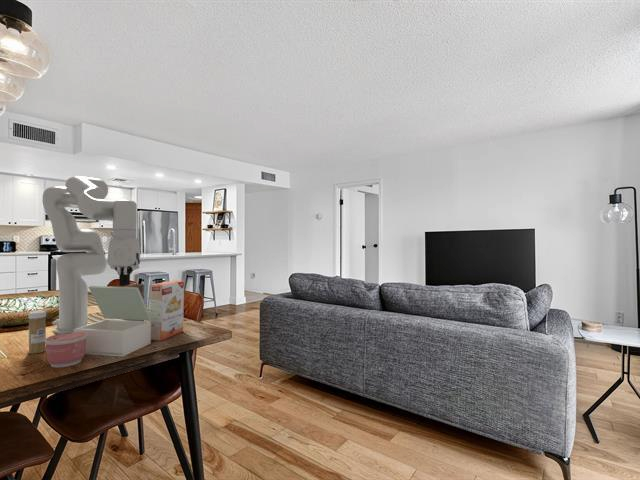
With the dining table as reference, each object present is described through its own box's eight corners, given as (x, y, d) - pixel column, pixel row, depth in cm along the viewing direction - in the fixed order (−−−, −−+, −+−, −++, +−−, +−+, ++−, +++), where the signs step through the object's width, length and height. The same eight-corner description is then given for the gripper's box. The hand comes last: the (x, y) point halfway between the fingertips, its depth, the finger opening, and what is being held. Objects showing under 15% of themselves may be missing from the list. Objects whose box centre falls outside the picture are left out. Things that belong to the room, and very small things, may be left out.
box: (73, 353, 114) (73, 329, 114) (106, 340, 128) (106, 319, 127) (122, 356, 111) (122, 331, 111) (150, 343, 125) (150, 321, 125)
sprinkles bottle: (36, 354, 112) (36, 313, 112) (24, 353, 113) (24, 312, 113) (49, 349, 117) (49, 310, 117) (38, 349, 117) (38, 309, 117)
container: (81, 354, 113) (81, 330, 113) (91, 362, 106) (91, 336, 106) (41, 363, 105) (41, 337, 105) (49, 372, 98) (49, 344, 98)
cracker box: (162, 341, 127) (162, 285, 127) (147, 340, 128) (148, 284, 128) (184, 331, 141) (184, 280, 141) (171, 330, 142) (171, 280, 142)
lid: (88, 287, 120) (90, 285, 120) (104, 318, 127) (106, 316, 128) (136, 289, 117) (138, 287, 118) (150, 320, 124) (151, 318, 125)
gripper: (98, 234, 121) (98, 286, 121) (136, 234, 119) (136, 287, 119) (114, 234, 129) (114, 283, 129) (150, 234, 126) (150, 284, 126)
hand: (124, 285), depth 124 cm, fingers closed
